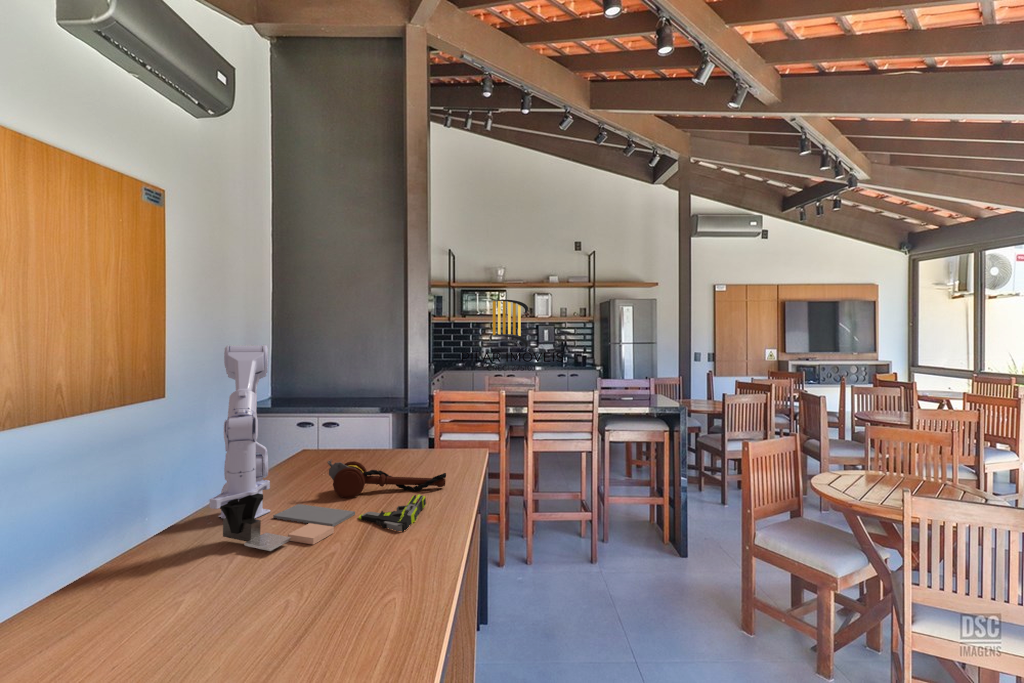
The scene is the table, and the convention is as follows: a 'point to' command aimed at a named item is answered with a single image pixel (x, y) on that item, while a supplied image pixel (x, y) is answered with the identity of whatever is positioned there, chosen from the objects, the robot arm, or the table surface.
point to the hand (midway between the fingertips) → (241, 530)
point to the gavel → (373, 479)
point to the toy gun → (397, 515)
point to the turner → (254, 535)
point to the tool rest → (315, 515)
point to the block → (311, 533)
